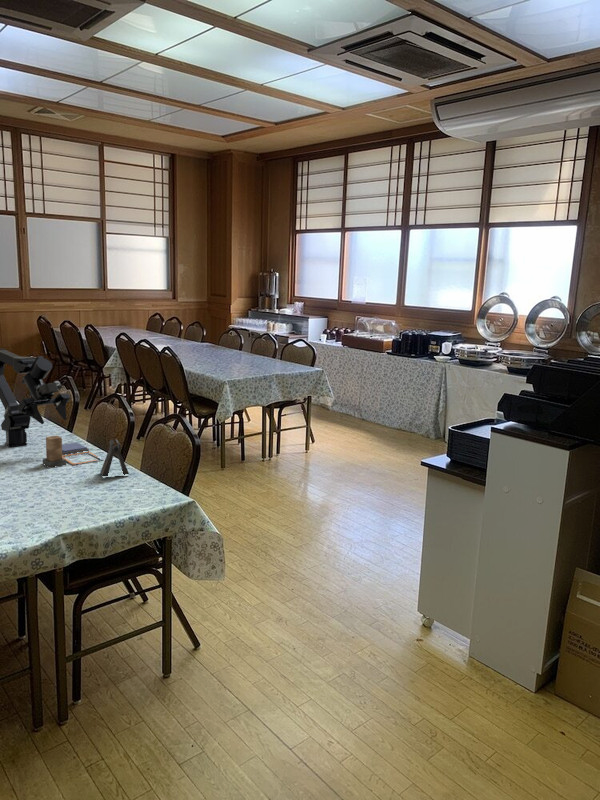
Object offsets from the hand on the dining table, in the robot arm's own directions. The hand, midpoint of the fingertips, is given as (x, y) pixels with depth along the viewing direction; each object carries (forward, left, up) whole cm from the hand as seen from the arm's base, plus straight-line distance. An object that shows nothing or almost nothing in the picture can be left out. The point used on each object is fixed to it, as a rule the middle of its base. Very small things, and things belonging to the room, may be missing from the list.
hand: (54, 421), depth 221 cm
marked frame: (+7, -6, -14) cm, 17 cm away
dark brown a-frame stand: (+9, -30, -14) cm, 34 cm away
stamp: (-3, -8, -14) cm, 16 cm away
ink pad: (+9, +7, -14) cm, 17 cm away
